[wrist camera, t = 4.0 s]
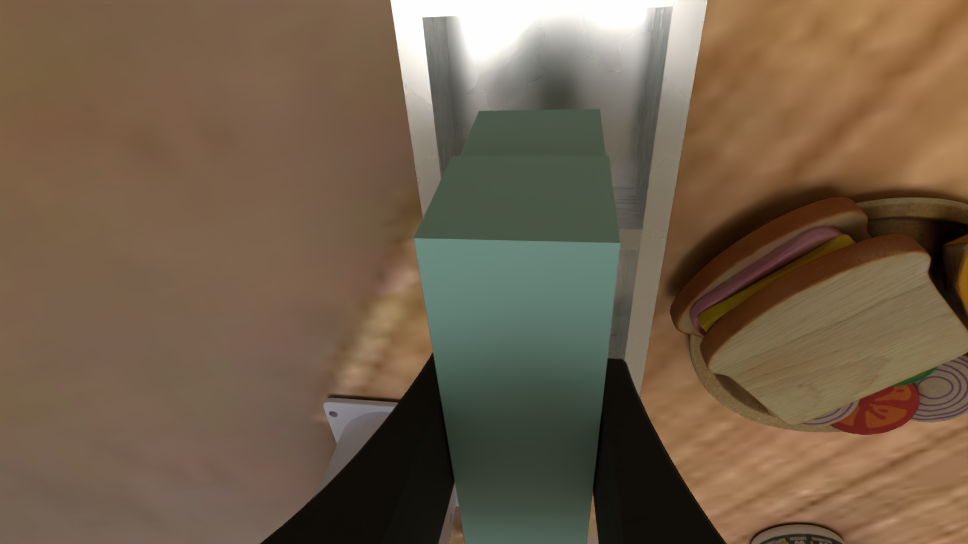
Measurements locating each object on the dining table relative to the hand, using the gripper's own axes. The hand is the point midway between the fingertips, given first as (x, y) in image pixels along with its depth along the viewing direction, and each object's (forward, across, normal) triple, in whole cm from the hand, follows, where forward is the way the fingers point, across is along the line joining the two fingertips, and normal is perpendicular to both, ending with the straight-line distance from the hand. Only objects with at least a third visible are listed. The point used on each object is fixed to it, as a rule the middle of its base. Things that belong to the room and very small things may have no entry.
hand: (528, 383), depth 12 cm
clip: (+4, 0, 0) cm, 5 cm away
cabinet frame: (+10, 0, 0) cm, 10 cm away
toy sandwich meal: (+11, -12, +6) cm, 17 cm away
